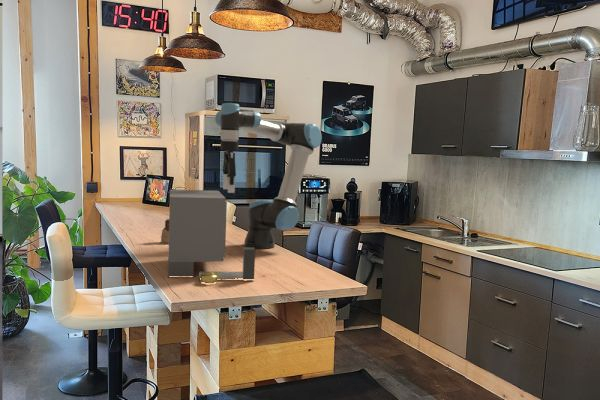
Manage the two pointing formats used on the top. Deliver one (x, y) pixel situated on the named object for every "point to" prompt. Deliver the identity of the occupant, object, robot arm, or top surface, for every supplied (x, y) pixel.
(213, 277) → the gold bowl
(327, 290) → the top surface
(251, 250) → the grey l-shaped bracket
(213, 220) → the cabinet
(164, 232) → the figurine
